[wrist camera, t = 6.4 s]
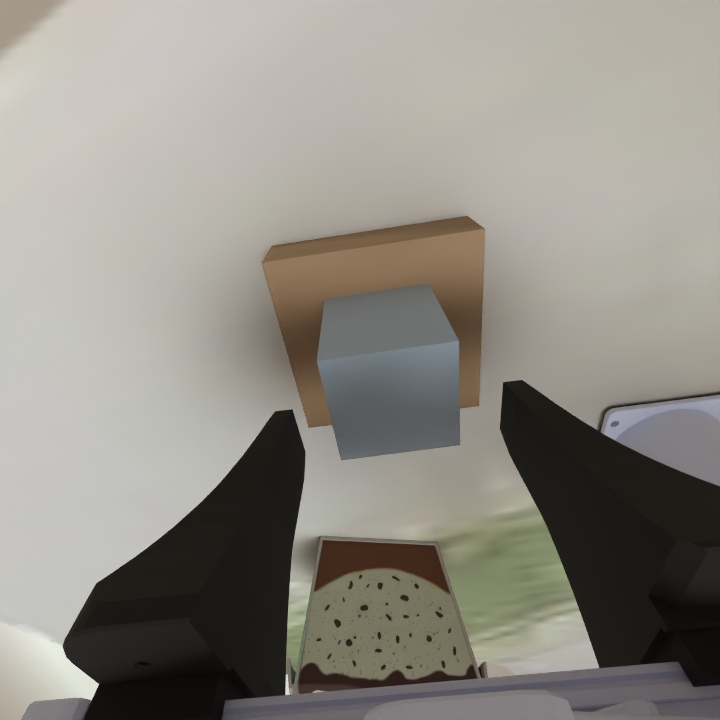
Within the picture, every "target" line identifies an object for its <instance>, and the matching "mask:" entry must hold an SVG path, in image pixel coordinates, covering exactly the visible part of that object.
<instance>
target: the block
mask: <svg viewBox="0 0 720 720" xmlns="http://www.w3.org/2000/svg"><path fill="white" fill-rule="evenodd" d="M317 364H318V368H319V372H320V376H321V380H322V384H323V388H324V393H325V397H326V401H327V405H328V409H329V413H330V417H331V421H332V425H333V429H334V433H335V437H336V441H337V445H338V449H339V453H340V457H341V460H346V459H354V458H362V457H369V456H377V455H385V454H393V453H401V452H409V451H416V450H424V449H432V448H440V447H448V446H456V445H460V402H459V340H458V338H457V336H456V334H455V332H454V330H453V329H452V327H451V325H450V323H449V321H448V319H447V317H446V315H445V313H444V311H443V310H442V308H441V306H440V304H439V302H438V300H437V298H436V296H435V294H434V292H433V290H432V289H431V287H430V285H429V284H425V285H418V286H412V287H405V288H398V289H392V290H385V291H378V292H372V293H365V294H358V295H352V296H345V297H339V298H332V299H325V301H324V309H323V316H322V324H321V332H320V340H319V347H318V355H317Z"/></svg>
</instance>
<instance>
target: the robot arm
mask: <svg viewBox="0 0 720 720" xmlns="http://www.w3.org/2000/svg"><path fill="white" fill-rule="evenodd" d="M500 430H501V433H502V435H503V438H504V441H505V444H506V446H507V449H508V451H509V454H510V456H511V458H512V460H513V462H514V464H515V466H516V468H517V470H518V471H519V473H520V475H521V477H522V479H523V481H524V483H525V485H526V487H527V488H528V490H529V492H530V494H531V496H532V498H533V500H534V501H535V503H536V505H537V507H538V509H539V511H540V513H541V515H542V517H543V519H544V521H545V523H546V525H547V527H548V530H549V532H550V535H551V537H552V540H553V542H554V544H555V547H556V549H557V552H558V554H559V557H560V559H561V562H562V564H563V567H564V570H565V572H566V575H567V577H568V580H569V582H570V585H571V588H572V590H573V593H574V596H575V599H576V601H577V604H578V607H579V610H580V612H581V615H582V618H583V621H584V623H585V626H586V629H587V632H588V635H589V638H590V641H591V644H592V647H593V650H594V653H595V656H596V659H597V662H598V665H599V668H597V669H585V670H573V671H562V672H550V673H538V674H527V675H515V676H503V677H493V678H480V679H469V680H457V681H445V682H434V683H422V684H410V685H399V686H387V687H375V688H364V689H352V690H341V691H329V692H317V693H306V694H294V695H285V680H286V643H287V619H288V600H289V583H290V570H291V557H292V548H293V540H294V535H295V529H296V523H297V518H298V512H299V506H300V501H301V495H302V489H303V483H304V472H305V449H304V446H303V443H302V439H301V436H300V433H299V430H298V426H297V423H296V420H295V416H294V413H293V410H292V409H291V410H283V411H276V412H274V414H273V415H272V416H271V418H270V419H269V420H268V422H267V423H266V425H265V426H264V428H263V429H262V430H261V432H260V433H259V435H258V436H257V437H256V439H255V440H254V441H253V443H252V444H251V445H250V447H249V448H248V449H247V451H246V452H245V453H244V455H243V456H242V457H241V459H240V460H239V461H238V462H237V463H236V465H235V466H234V467H233V468H232V469H231V471H230V472H229V473H228V474H227V475H226V477H225V478H224V479H223V480H222V481H221V482H220V483H219V485H218V486H217V487H216V488H215V489H214V490H213V491H212V492H211V493H210V494H209V495H208V496H207V497H206V498H205V499H204V500H203V501H202V502H201V503H200V504H199V505H198V506H197V507H196V508H194V509H193V510H192V511H191V512H190V513H189V514H188V515H187V516H185V517H184V518H183V519H182V520H181V521H180V522H179V523H178V524H177V525H175V526H174V527H173V528H172V529H171V530H169V531H168V532H167V533H166V534H165V535H163V536H162V537H161V538H160V539H158V540H157V541H156V542H154V543H153V544H152V545H151V546H149V547H148V548H147V549H145V550H144V551H143V552H141V553H140V554H139V555H137V556H136V557H134V558H133V559H132V560H130V561H129V562H127V563H126V564H124V565H123V566H121V567H120V568H119V569H117V570H116V571H114V572H113V573H111V574H110V575H108V576H107V577H105V578H104V579H102V580H101V581H99V582H98V583H96V585H95V587H94V588H93V590H92V592H91V594H90V595H89V597H88V599H87V601H86V602H85V604H84V606H83V608H82V610H81V611H80V613H79V615H78V617H77V619H76V620H75V622H74V624H73V626H72V628H71V629H70V631H69V633H68V635H67V637H66V638H65V641H64V644H63V649H64V652H65V655H66V657H67V658H68V659H69V660H70V661H71V662H72V663H73V664H74V665H75V666H77V667H78V668H79V669H81V670H82V671H83V672H84V673H86V674H87V675H88V676H90V677H91V678H92V679H94V680H95V681H96V682H97V683H99V686H98V688H97V690H96V693H95V695H94V697H93V699H92V701H91V700H88V699H83V698H68V699H57V700H45V701H35V702H33V703H32V704H30V705H29V706H28V708H27V710H26V712H25V713H24V715H23V717H22V719H21V720H720V395H714V396H706V397H698V398H690V399H682V400H674V401H666V402H658V403H650V404H642V405H634V406H626V407H619V408H613V409H610V410H608V411H607V412H606V414H605V417H604V420H603V424H602V428H601V432H599V431H598V430H596V429H594V428H593V427H591V426H589V425H588V424H586V423H584V422H583V421H581V420H580V419H578V418H576V417H575V416H573V415H572V414H570V413H569V412H567V411H566V410H564V409H563V408H561V407H560V406H558V405H557V404H555V403H554V402H553V401H551V400H550V399H548V398H547V397H545V396H544V395H543V394H541V393H540V392H538V391H537V390H536V389H534V388H533V387H531V386H530V385H528V384H527V383H526V382H524V381H523V380H518V381H510V382H503V394H502V407H501V421H500Z"/></svg>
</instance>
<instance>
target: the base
mask: <svg viewBox="0 0 720 720" xmlns="http://www.w3.org/2000/svg"><path fill="white" fill-rule="evenodd" d="M484 239H485V229H484V228H483V227H482V226H480V225H479V224H477V223H476V222H475V221H473V220H472V219H471V218H469V217H468V216H465V217H459V218H452V219H446V220H439V221H433V222H426V223H420V224H413V225H407V226H400V227H394V228H387V229H381V230H374V231H368V232H361V233H355V234H348V235H342V236H335V237H329V238H322V239H316V240H309V241H303V242H296V243H290V244H283V245H277V246H272V247H271V249H270V250H269V252H268V254H267V255H266V257H265V258H264V260H263V262H262V265H263V269H264V272H265V276H266V279H267V283H268V286H269V290H270V293H271V297H272V300H273V304H274V307H275V311H276V314H277V318H278V321H279V325H280V328H281V332H282V335H283V339H284V342H285V346H286V349H287V353H288V356H289V360H290V363H291V367H292V370H293V374H294V377H295V381H296V384H297V388H298V391H299V395H300V398H301V402H302V405H303V409H304V412H305V416H306V419H307V423H308V426H309V428H310V427H318V426H326V425H332V421H331V417H330V413H329V409H328V405H327V401H326V397H325V393H324V388H323V384H322V380H321V376H320V372H319V368H318V364H317V355H318V347H319V340H320V332H321V324H322V316H323V309H324V301H325V299H332V298H339V297H345V296H352V295H358V294H365V293H372V292H378V291H385V290H392V289H398V288H405V287H412V286H418V285H425V284H429V285H430V287H431V289H432V290H433V292H434V294H435V296H436V298H437V300H438V302H439V304H440V306H441V308H442V310H443V311H444V313H445V315H446V317H447V319H448V321H449V323H450V325H451V327H452V329H453V330H454V332H455V334H456V336H457V338H458V340H459V402H460V408H466V407H474V406H479V388H480V358H481V328H482V298H483V269H484Z"/></svg>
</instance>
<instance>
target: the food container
mask: <svg viewBox="0 0 720 720" xmlns="http://www.w3.org/2000/svg"><path fill="white" fill-rule="evenodd" d="M287 664H288V681H289V692H290V695H294V694H306V693H317V692H329V691H341V690H352V689H364V688H375V687H387V686H399V685H410V684H422V683H434V682H445V681H457V680H469V679H480V678H488V675H487V666H486V662H483V663H482V664H481V665H480V666H479V667H477V664H476V661H475V658H474V654H473V651H472V648H471V645H470V642H469V639H468V636H467V633H466V630H465V627H464V624H463V621H462V617H461V614H460V611H459V608H458V605H457V602H456V599H455V596H454V593H453V590H452V587H451V583H450V580H449V577H448V574H447V571H446V568H445V565H444V562H443V559H442V556H441V553H440V550H439V546H438V543H437V542H432V541H412V540H392V539H372V538H351V537H331V536H320V541H319V547H318V553H317V558H316V564H315V569H314V575H313V581H312V586H311V592H310V597H309V603H308V609H307V614H306V620H305V625H304V631H303V637H302V642H301V648H300V653H299V659H298V665H297V670H296V672H295V671H294V670H293V668H292V666H291V662H290V658H288V659H287Z"/></svg>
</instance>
